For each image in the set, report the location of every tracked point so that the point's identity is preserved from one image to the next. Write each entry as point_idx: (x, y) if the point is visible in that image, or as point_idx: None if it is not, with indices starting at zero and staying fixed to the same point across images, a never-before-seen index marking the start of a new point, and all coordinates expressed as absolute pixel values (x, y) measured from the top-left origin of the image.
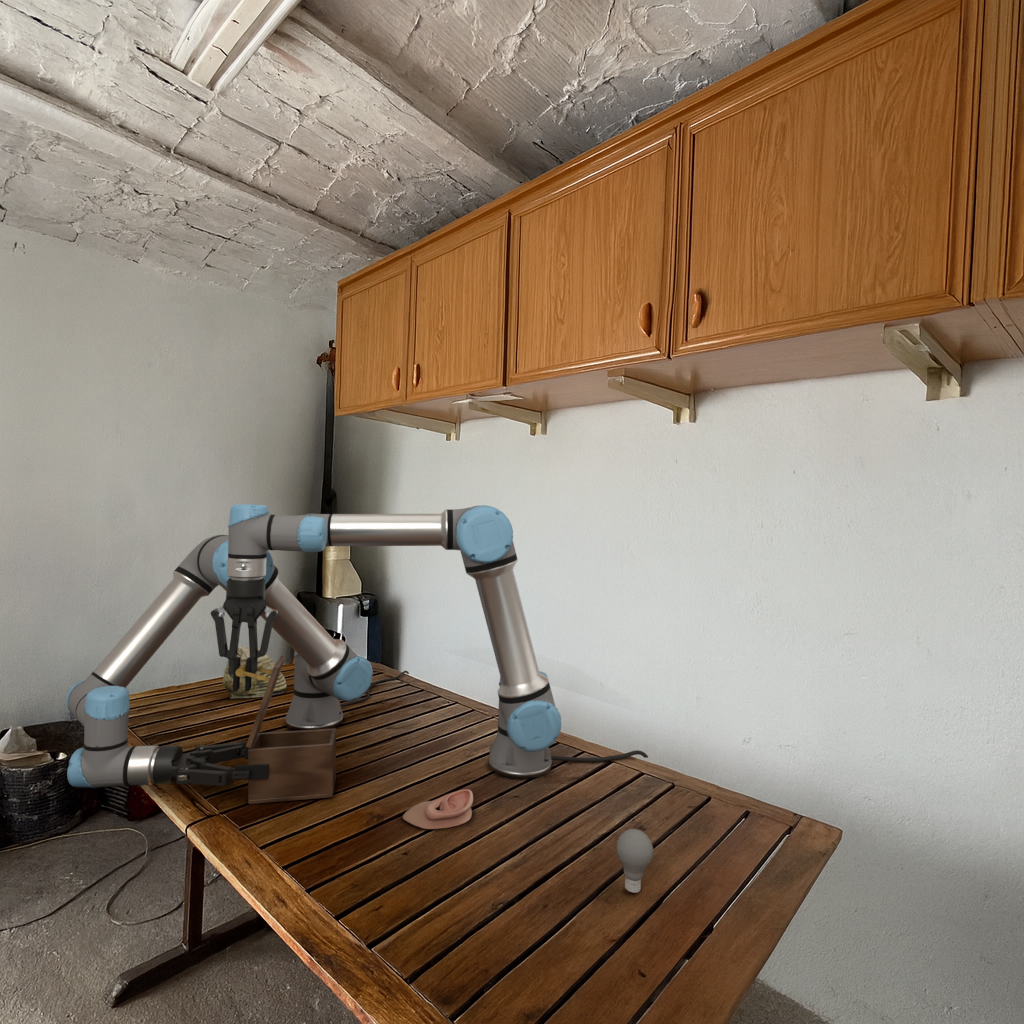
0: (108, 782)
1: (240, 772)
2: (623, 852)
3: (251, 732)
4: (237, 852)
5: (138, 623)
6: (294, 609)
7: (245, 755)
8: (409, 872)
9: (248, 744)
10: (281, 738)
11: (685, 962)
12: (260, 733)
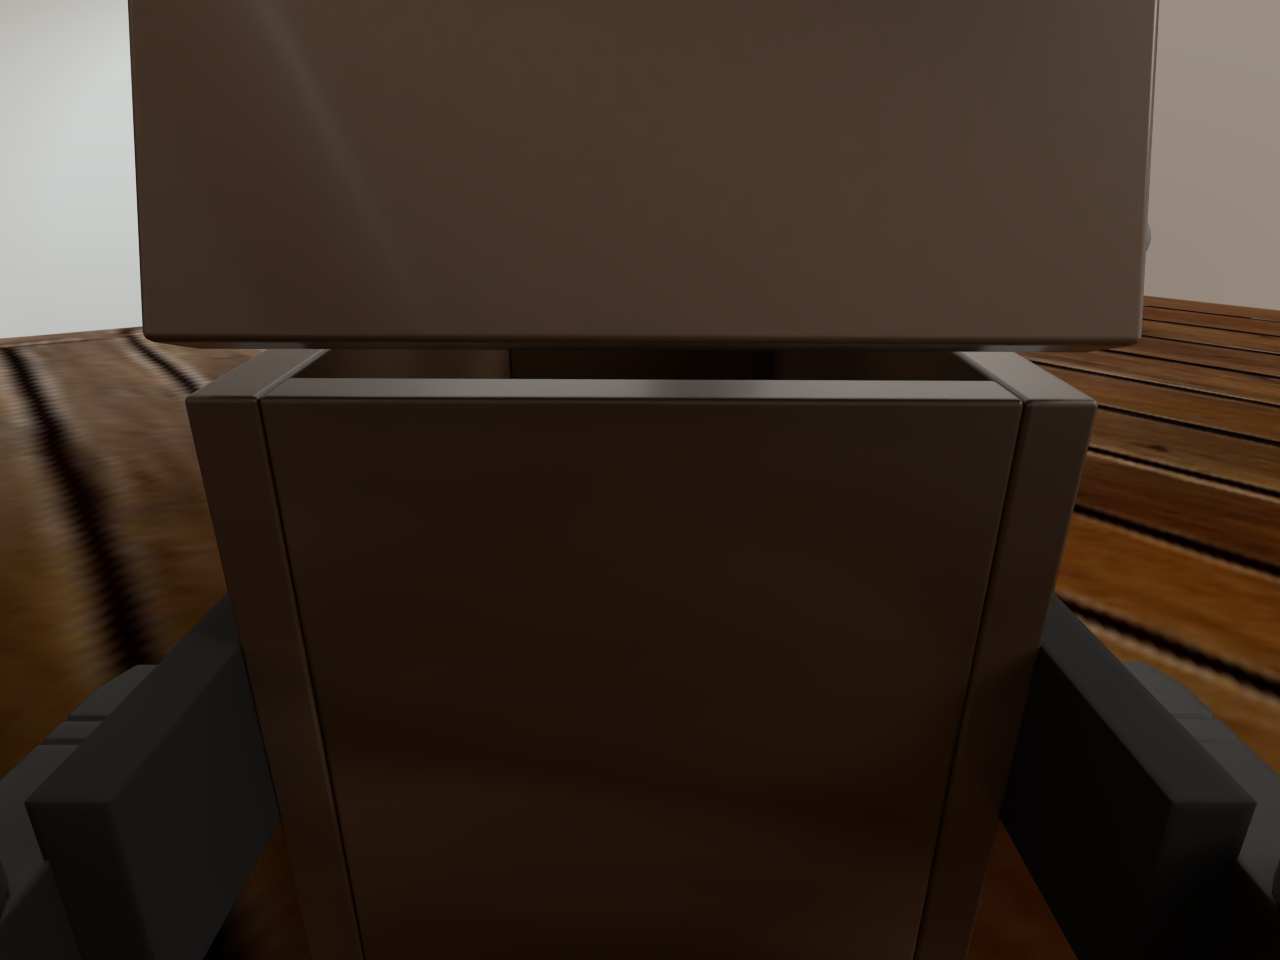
0: None
1: (1252, 756)
2: (1146, 237)
3: (1156, 4)
4: None
5: None
6: None
7: (157, 937)
8: (1265, 445)
9: (1122, 284)
10: (407, 375)
11: (1260, 319)
12: (251, 376)
